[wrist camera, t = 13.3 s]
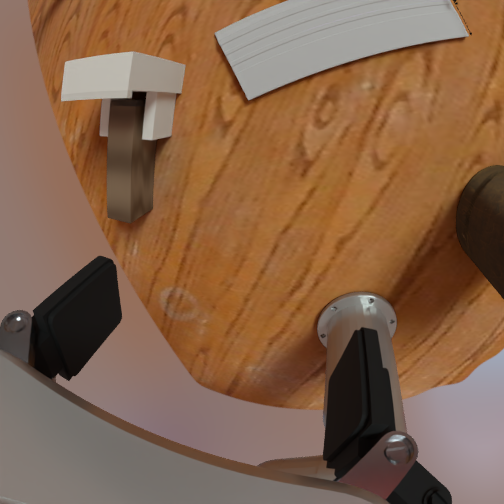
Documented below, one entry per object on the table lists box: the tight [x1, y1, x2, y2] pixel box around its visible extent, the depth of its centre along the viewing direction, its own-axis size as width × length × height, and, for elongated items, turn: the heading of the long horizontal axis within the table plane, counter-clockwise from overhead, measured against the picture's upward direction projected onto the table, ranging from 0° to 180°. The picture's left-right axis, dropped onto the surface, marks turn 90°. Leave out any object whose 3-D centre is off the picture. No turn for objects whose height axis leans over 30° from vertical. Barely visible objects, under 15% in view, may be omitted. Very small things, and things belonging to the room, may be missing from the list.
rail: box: [107, 99, 157, 223], centre depth 36 cm, size 16×4×6 cm, turn 171°
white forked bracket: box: [61, 52, 186, 140], centre depth 29 cm, size 10×10×12 cm
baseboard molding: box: [215, 0, 472, 100], centre depth 24 cm, size 31×3×12 cm
